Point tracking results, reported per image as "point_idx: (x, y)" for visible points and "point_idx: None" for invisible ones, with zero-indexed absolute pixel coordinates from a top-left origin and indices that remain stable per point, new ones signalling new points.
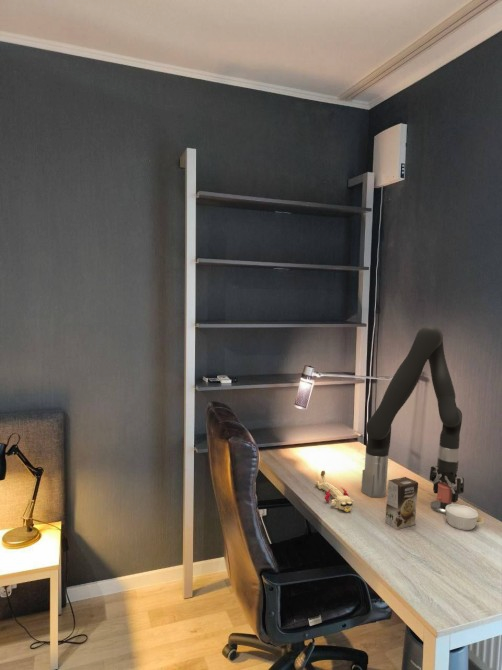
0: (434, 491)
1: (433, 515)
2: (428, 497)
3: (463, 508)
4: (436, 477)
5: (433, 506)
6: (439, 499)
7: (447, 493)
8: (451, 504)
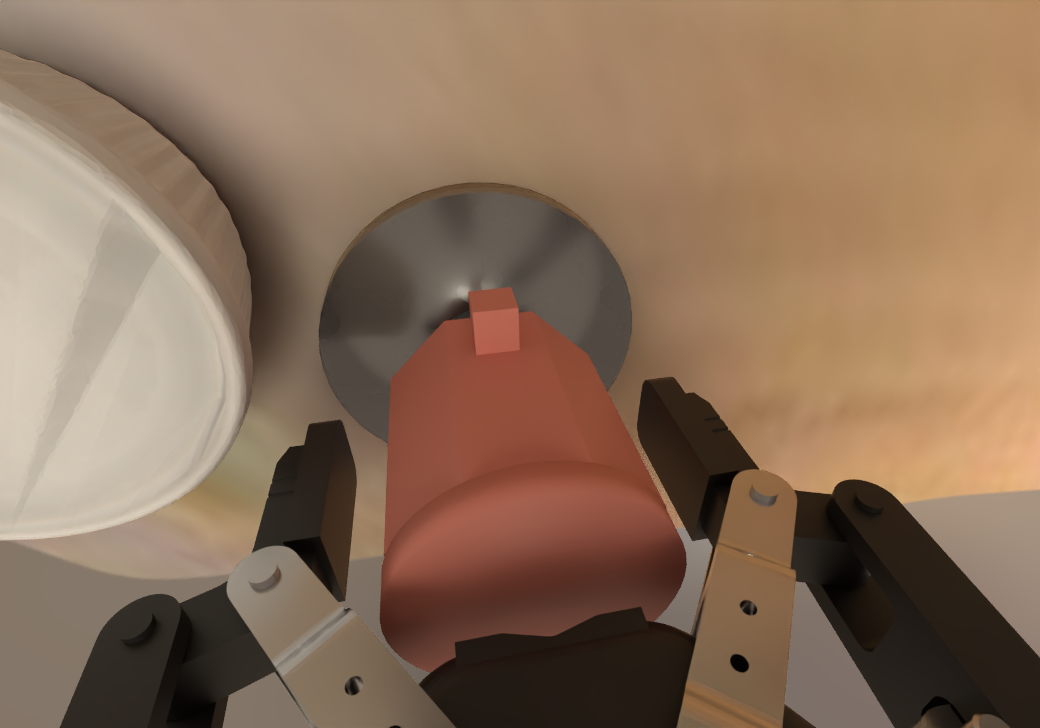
0: (669, 390)
1: (361, 49)
2: (737, 354)
3: (83, 439)
4: (787, 622)
5: (530, 220)
6: (469, 307)
7: (405, 473)
8: (222, 354)
